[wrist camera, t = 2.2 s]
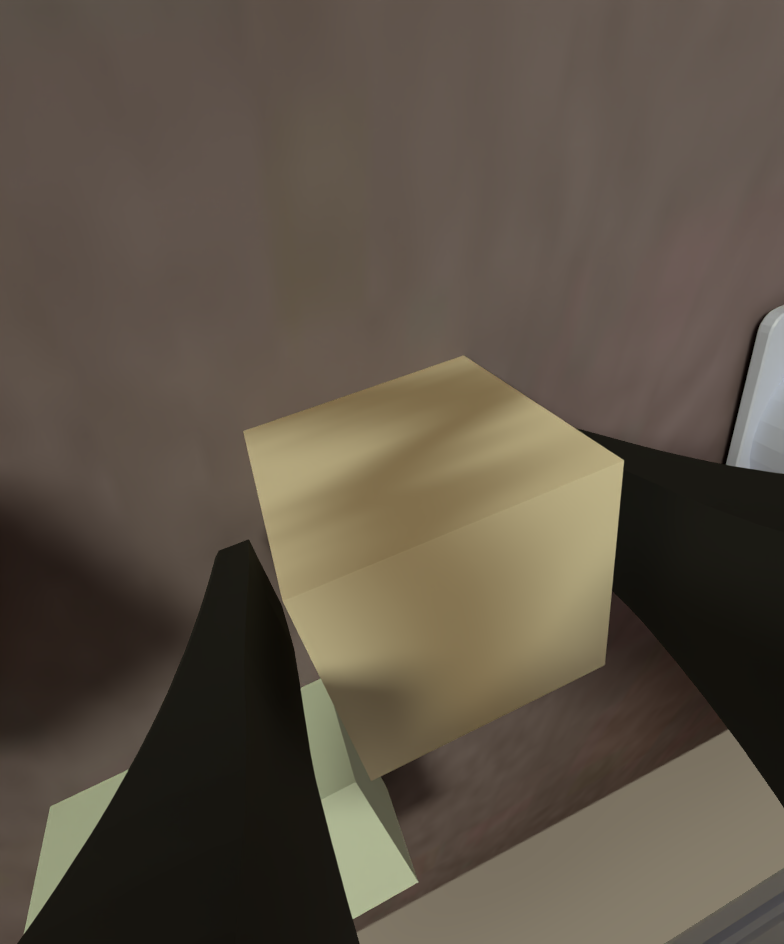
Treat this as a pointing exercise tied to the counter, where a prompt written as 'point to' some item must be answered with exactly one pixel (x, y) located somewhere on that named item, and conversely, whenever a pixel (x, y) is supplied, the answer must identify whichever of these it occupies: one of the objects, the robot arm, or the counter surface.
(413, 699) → the beech cube
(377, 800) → the sage block
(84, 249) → the counter surface
